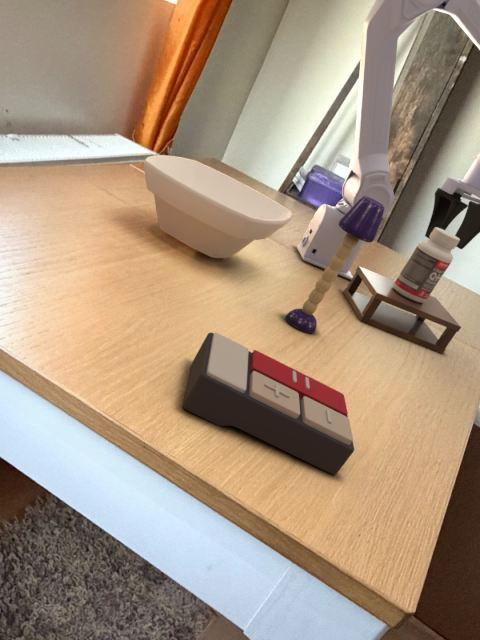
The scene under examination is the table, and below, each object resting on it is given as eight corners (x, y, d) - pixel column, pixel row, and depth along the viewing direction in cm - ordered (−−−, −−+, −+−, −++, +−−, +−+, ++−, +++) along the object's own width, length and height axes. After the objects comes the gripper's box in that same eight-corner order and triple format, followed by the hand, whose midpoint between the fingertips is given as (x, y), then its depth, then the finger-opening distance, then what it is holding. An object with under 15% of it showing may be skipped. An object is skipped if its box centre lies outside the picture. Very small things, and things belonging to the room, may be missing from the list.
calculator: (361, 444, 64) (204, 367, 63) (332, 482, 67) (181, 408, 66) (349, 392, 73) (212, 323, 72) (324, 427, 76) (192, 361, 75)
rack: (360, 320, 110) (377, 292, 107) (342, 292, 119) (358, 265, 117) (442, 353, 112) (461, 327, 109) (419, 323, 122) (436, 297, 119)
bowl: (277, 270, 115) (306, 216, 110) (229, 288, 99) (260, 225, 94) (167, 209, 120) (189, 154, 115) (104, 216, 104) (127, 153, 99)
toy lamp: (319, 329, 99) (391, 205, 90) (317, 340, 95) (392, 212, 86) (286, 313, 99) (354, 188, 90) (283, 323, 95) (354, 193, 86)
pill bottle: (419, 306, 110) (461, 242, 105) (387, 288, 112) (426, 224, 106) (427, 302, 114) (467, 240, 109) (396, 284, 116) (434, 223, 110)
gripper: (501, 162, 125) (451, 239, 133) (451, 140, 117) (401, 224, 125) (534, 178, 121) (481, 257, 129) (484, 157, 113) (430, 243, 121)
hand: (443, 242), depth 127 cm, fingers open, 7 cm apart
